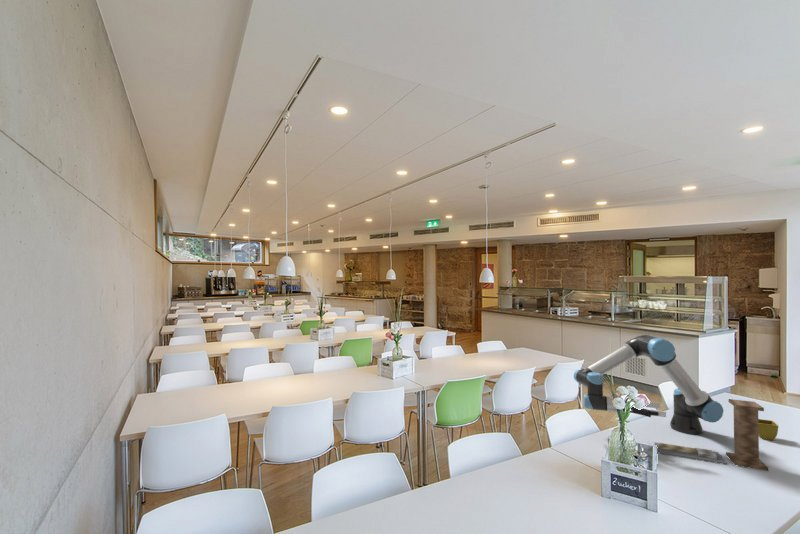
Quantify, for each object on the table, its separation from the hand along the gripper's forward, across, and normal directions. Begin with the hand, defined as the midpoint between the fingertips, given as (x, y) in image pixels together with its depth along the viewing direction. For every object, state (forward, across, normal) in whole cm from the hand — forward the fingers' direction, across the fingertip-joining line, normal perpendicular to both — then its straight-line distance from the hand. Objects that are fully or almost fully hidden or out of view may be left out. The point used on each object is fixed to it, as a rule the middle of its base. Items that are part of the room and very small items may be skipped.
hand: (663, 409), depth 198 cm
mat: (+10, 0, -20) cm, 23 cm away
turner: (+9, 0, -20) cm, 22 cm away
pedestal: (+33, 0, -21) cm, 39 cm away
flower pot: (+55, -42, -22) cm, 72 cm away
